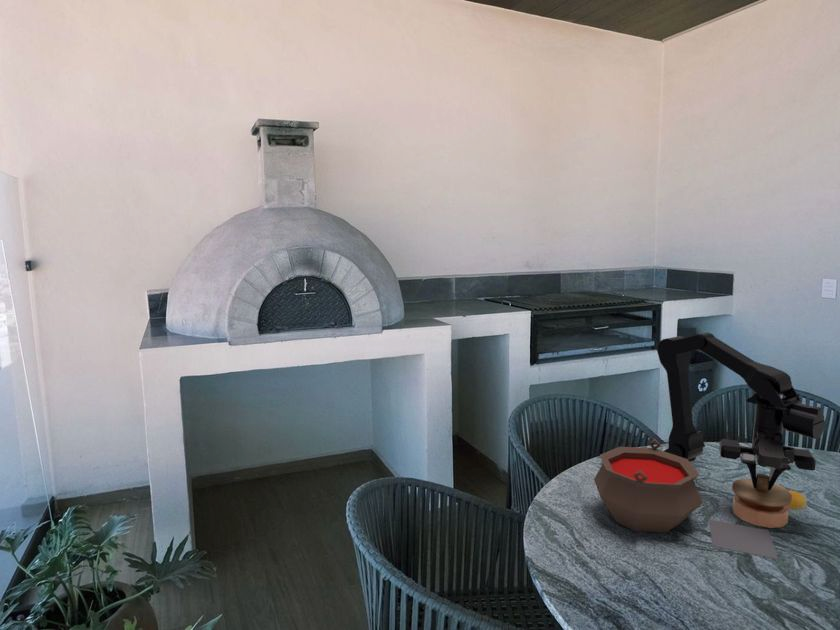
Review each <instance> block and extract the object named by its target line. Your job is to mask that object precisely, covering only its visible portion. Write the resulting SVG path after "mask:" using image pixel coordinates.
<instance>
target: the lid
mask: <svg viewBox="0 0 840 630" xmlns="http://www.w3.org/2000/svg"><path fill="white" fill-rule="evenodd" d="M769 478H770V477H769V475H767V474H764V473H756V488H754V487H753V483H752V479H751V478H740V479H736V480H734V481H733V482H732V486H731V487H732V489H731V490H732V492H733V493H734V495H735V494H736V495H737V496H739V497H741V498H742V499H744V500H747V501H749V502H752V503H755V504H759V505H764V506H771V507H781V506H786V505H789V504H790V503H791V499H792V495H791V493H790V492H789V491H790V490H788V489H786V488H785V487H784V486H781V485H778V484H776V483H774V485H773V487H772V488H771V490H768V487H769ZM783 487H784V488H783Z"/></svg>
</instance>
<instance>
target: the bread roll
mask: <svg viewBox="0 0 840 630" xmlns="http://www.w3.org/2000/svg"><path fill="white" fill-rule="evenodd" d="M782 487H783V488H785V487H784V486H782ZM788 491H789V492H790V493H791V495H792V499H791V503H790V504H789V505H787V506H788V508H789V510H804V509H806V508H807V506H808V500H807V499H806V497H805V496H804V495H803V494H802V493H800V492H798V491H795V490H788Z"/></svg>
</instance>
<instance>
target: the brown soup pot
mask: <svg viewBox="0 0 840 630" xmlns="http://www.w3.org/2000/svg"><path fill="white" fill-rule="evenodd" d="M654 443H655V444H656V445H654ZM647 444H648V445H649V446H650V447H635V446H617V447H616V448H613V449H610V450H609V451H606V452H604V453H601V454H599V456H600V460H601V462H602V465H601V466H600V468H599V470H598V471H597V473H596V475H595V477H594V478H593V480H594V483H595V484H594V485H595V486H596V489H597V491H598V494H599V498H601V501H602V502H603V503H604V505H605V506H606V508H607V509H608V511H609V512H610V514H611V515H612V517H613V518H614V520H615V522H616V523H617V524H619V525H621V526H623V527H625V528H628V529H629V530H631V531H634V532H636V533H639V532H648V533H649V532H652V533H653V532H654V533H668V532H669V531H671V530H672V529H674V528H676V527H678V526H679V525H681V523H682V522H684V521H685V520H686V518H688V517H689V516H690V515H691V514H692V513H693V512H694V511H696V510H697V509H699V507H700V506H701V505H702V504H703V500H702V498H701V495H700V493H699V490H698V488H697V485H696V483H695V481H694V480H696V478H698V477H699V476H700V473H699V472H698V471H697V469H696V467H694V465H693V464H692V463H691V462H689V461H688V459H685V458H682V457H679V456H676V455H673V454H670V453H667V452H664V450H661V449H658V448H660V447H662V445H661V443H660V442H659V441H658V440H657V439H656V438H654V439H652V440H651V441H649V442H648V443H647Z"/></svg>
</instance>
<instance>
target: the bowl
mask: <svg viewBox="0 0 840 630" xmlns="http://www.w3.org/2000/svg"><path fill="white" fill-rule="evenodd" d="M732 498H733V499H732V500H733V501H732V512H733V515H735V516H736V517H738V519H740V520H741V521H744V522H747V523H749V524H752V525H754V526H758V527H764V528H769V529H772V528H783V527H784V526H785V525H787V524H789V523H788V522H789V513H790V509H789V508H788V506H787V505H786V506H781V507H771V506H764V505H759V504H755V503H752V502H749V501H747V500H744V499H742V498H741V497H739V496H737V495H736V494H735V493H734V494H733V497H732Z"/></svg>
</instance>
